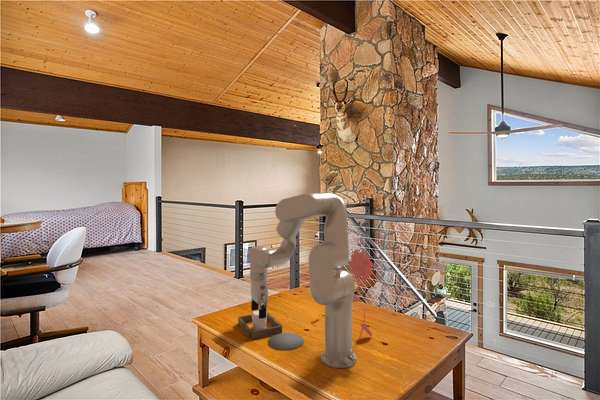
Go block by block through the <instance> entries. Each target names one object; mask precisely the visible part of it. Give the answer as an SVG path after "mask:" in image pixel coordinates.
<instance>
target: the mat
mask: <svg viewBox="0 0 600 400" xmlns="http://www.w3.org/2000/svg"><path fill="white" fill-rule="evenodd" d="M304 340H305V339H304V338H303V337H302V336H301V335H300V334H297V333H291V332H282V333H280V334H276V335H272V336H269V338H268V341H267V342H268V345H269V347H270V348H272V349H275V350H279V351H280V350H281V351H292V350H296V349H298V348H300V347H302V346H303V345H304V343H305V341H304Z"/></svg>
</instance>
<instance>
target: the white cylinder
mask: <svg viewBox="0 0 600 400" xmlns="http://www.w3.org/2000/svg"><path fill="white" fill-rule="evenodd" d="M267 313H268V311H267V310H266V318H262V319H259V309H258V310H254V311H251V315H252V322H251V323H252V329H253V331H255V330H260V329H265V328H267V322H268V321H267Z"/></svg>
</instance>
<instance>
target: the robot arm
mask: <svg viewBox="0 0 600 400" xmlns="http://www.w3.org/2000/svg"><path fill="white" fill-rule="evenodd" d="M274 213H275V216H276V218H277V220H279V222H278V224H277V226H276V227H275V228H276V233H277V234H278V235H279V236H280V237H281V238H283V240H282V242H281V244H280V245H279V247H278V246H277V247H273V248H267V247H266V246H263V245H262V246H261V245H258V246H257V245H256V246H253V247H251V248H250V251H249V255H250V256H249V257H250V258H249V261H250V262H249V263H250V264H249V265H250V266H249V267H250V269H249V270H250V271H249V280H251V281H250V297H251V299H250V300H251V303H250V304H251V306H250V308H251V312H253V311H255V310H259V319H262V318H266V311H267V308H268V302H269V286H268V277H269V275H268V269H270V268H274V267H277V266H280V265H281V266H282V265H284V264H286V263H288V261H290V260H291V257H292V256H293V254H294V253H295V250H296V248H297V238H296V237H297V234H299V232H300V229H301V228H302V226H303V225H304V223H305V221H306V219H310V218H319V217H325V218H326V219H325V221H324V224H323V242H320V243H317V244H316V245H314V246H313V247H312V248H311V250H310V252H309V255H308V276H309V290H310V294H311V296H312V298H313V301H314V302H315V303H316V304H318V305H321V306H325V308H324V309H325V310H324V311H325V312H324V348H325V349H324V350H323V351H322V352H321V353H320V360H321V362H322V363H323V364H325V365H326V366H328V367H330V368H334V369H335V368H336V369H347V368H352V367H353V365H355V364H356V363H357V354H356V353H354V350H353V303H354V302H353V301H354V300H353V297H354V296H355V287H356V284H355V283H356V282H355V281H354V280H355V279H354V277H352V276H353V275H352V274H351V273H350V272H348V271H346V270H343V269H342V270H340V268H339V267H342V266H343V267H344V266H345V265H347V264H348V261H350V260H349V259H350V249H349V248H350V246H349V244H350V243H349V231H348V208H347V205H346V203H345V202H344V200H343V199H342V198H341V197H340V196H339V195H337V194H334V193H330V192H309V193H301V194H298V195H294V196H291V197H287V198H283V199H280V200H279V201H278V202H277V204H276V206H275V210H274ZM343 267H342V268H343ZM338 268H339V269H338ZM336 269H338V270H336Z"/></svg>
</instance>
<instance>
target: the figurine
mask: <svg viewBox="0 0 600 400" xmlns="http://www.w3.org/2000/svg"><path fill="white" fill-rule="evenodd" d="M370 258H371V255H370V254H369V253H366V250H364V249H363V250H362V251H360V252H359V250H358V249H357V248H356V249H354V250H353V253H351V254H350V260H348V262H347V265H348V266H349V267H350V269H351V270H350V272H351V273H352V275H351V276H352V277H353V278H355V279H354V283H356V284H358V288H357V293H356V295H355V294H354V296H353V301H354V302H355V303H358V302H359V303H360V305H361V306H362V307H363V309H364V311H363V323H360V322H355V324H356V325H357V324H358V325H360V326H361V330H360V333H359V336H358V340H359V341H360V340H361V338H362V334H363V331H364V332H366V333H367V334H368V335H369V336H370V337H371V338H372V337H373V334H372V332H371V330H370V329H369V328H368V327H370V328H372V329H375V330H376V331H378V329H377V328H375V327H372V326H371V325H369V324H368V325H367V324H365V320H366V308H365V306H364V305H363V303H362V301H361V300H360V297H359V292H360V291H359V290H360V288H361V287H363V285H364V284H365V282H366V281H367V279H368V278H370V276H371V275H372V276H373V277H374V278H375V279H376V280H377V281H378V282H380V283H381V285H383V286H385V284H384V283H383V281H382V280H381V279H380V278H379V277H378V276H377V275H376V274H375V273H374V272H373V270H372V268H374V263H373V262H372V261H371V260H370ZM343 267H344V266H342V267H339V268H337V269H338V270H343V269H342V268H343ZM360 278H362V279H363V281H362V282H359V281H358V280H359V279H360ZM371 345H372V343H371V344H369V346H371Z"/></svg>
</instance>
